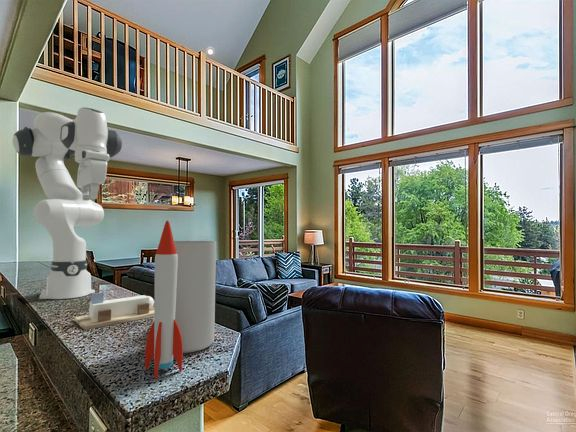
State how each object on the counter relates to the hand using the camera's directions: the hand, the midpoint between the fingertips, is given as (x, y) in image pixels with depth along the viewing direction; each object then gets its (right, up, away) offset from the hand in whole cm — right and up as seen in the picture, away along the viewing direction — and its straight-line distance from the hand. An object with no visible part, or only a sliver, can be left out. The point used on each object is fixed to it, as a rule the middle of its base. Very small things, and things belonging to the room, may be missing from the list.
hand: (89, 199), depth 103 cm
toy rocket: (+40, -36, -40) cm, 67 cm away
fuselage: (+13, -36, -3) cm, 39 cm away
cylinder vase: (+40, -37, -26) cm, 60 cm away
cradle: (+12, -37, -4) cm, 39 cm away
